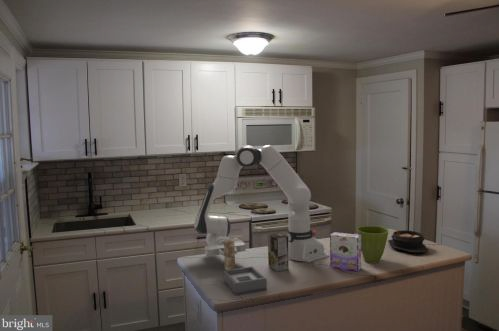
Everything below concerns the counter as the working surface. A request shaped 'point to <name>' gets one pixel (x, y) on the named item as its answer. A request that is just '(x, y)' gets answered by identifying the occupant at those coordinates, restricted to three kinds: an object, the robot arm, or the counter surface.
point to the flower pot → (372, 242)
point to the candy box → (345, 251)
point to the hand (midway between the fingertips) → (230, 253)
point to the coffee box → (278, 251)
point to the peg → (229, 254)
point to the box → (244, 280)
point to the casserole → (408, 241)
